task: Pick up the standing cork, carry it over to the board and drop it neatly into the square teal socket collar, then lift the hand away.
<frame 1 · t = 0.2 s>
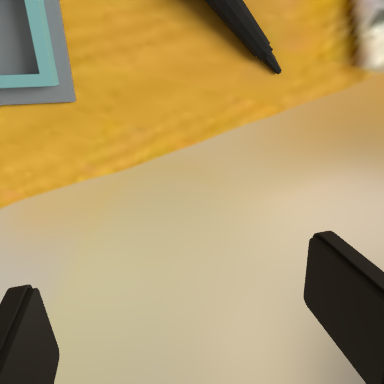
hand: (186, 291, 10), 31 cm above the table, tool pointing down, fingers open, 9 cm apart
microphone: (219, 13, 36), on the table
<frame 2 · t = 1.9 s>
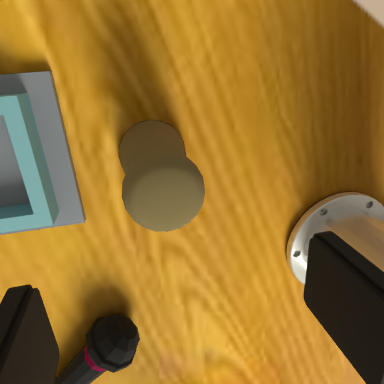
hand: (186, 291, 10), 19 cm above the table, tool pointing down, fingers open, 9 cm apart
cork: (152, 153, 28), on the table
microphone: (73, 358, 35), on the table
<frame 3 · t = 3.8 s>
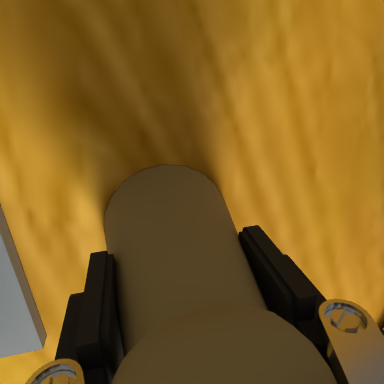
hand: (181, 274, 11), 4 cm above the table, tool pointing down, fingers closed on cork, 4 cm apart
cork: (167, 221, 15), on the table, touching gripper
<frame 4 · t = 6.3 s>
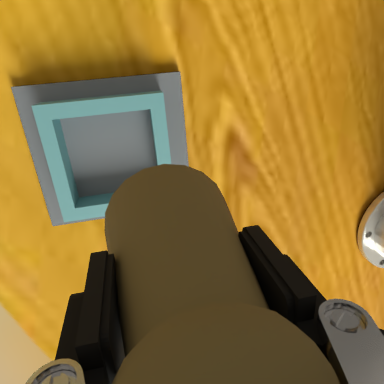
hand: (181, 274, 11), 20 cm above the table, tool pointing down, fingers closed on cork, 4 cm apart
socket: (113, 151, 29), on the table
cork: (167, 220, 15), point 16 cm above the table, touching gripper
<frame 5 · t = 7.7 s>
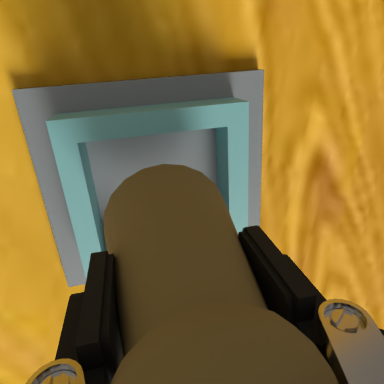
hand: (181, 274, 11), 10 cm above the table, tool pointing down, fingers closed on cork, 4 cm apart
socket: (157, 182, 20), on the table
cork: (166, 220, 15), point 6 cm above the table, touching gripper
when the fingers open (6 cm above the table, at t = 8.9 s): cork drops 1 cm, resting on socket.
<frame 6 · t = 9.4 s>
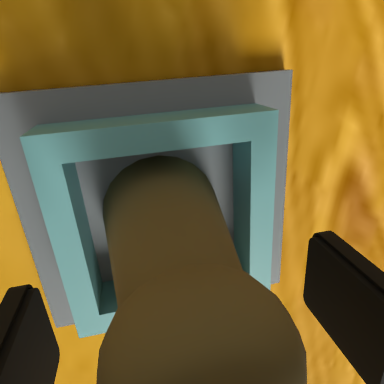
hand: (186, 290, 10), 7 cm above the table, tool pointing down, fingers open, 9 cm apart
socket: (162, 204, 17), on the table
cork: (160, 208, 16), point 1 cm above the table, touching socket
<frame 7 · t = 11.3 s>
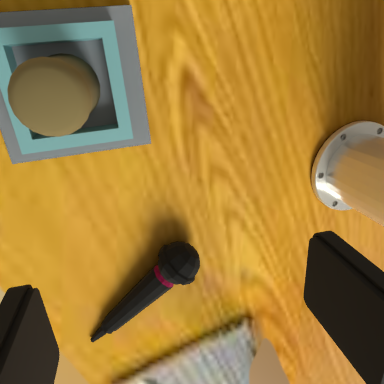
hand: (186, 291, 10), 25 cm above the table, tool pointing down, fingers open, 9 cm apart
socket: (70, 87, 30), on the table
cork: (67, 87, 29), point 1 cm above the table, touching socket
microphone: (136, 283, 41), on the table
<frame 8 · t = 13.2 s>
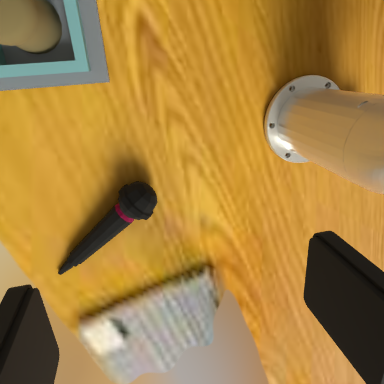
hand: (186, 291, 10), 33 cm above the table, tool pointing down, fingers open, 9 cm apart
socket: (36, 25, 34), on the table
cork: (33, 24, 33), point 1 cm above the table, touching socket
microphone: (101, 222, 45), on the table
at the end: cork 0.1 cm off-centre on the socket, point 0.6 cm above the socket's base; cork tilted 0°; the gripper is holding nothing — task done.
